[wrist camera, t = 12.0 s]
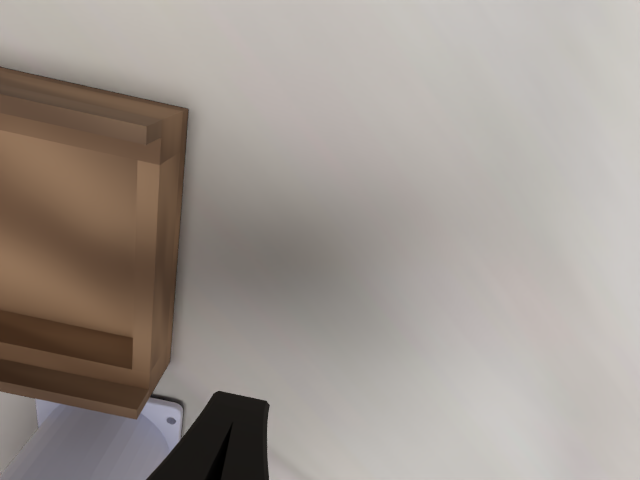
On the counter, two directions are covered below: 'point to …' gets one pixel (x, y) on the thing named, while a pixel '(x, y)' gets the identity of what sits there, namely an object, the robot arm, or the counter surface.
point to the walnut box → (87, 242)
